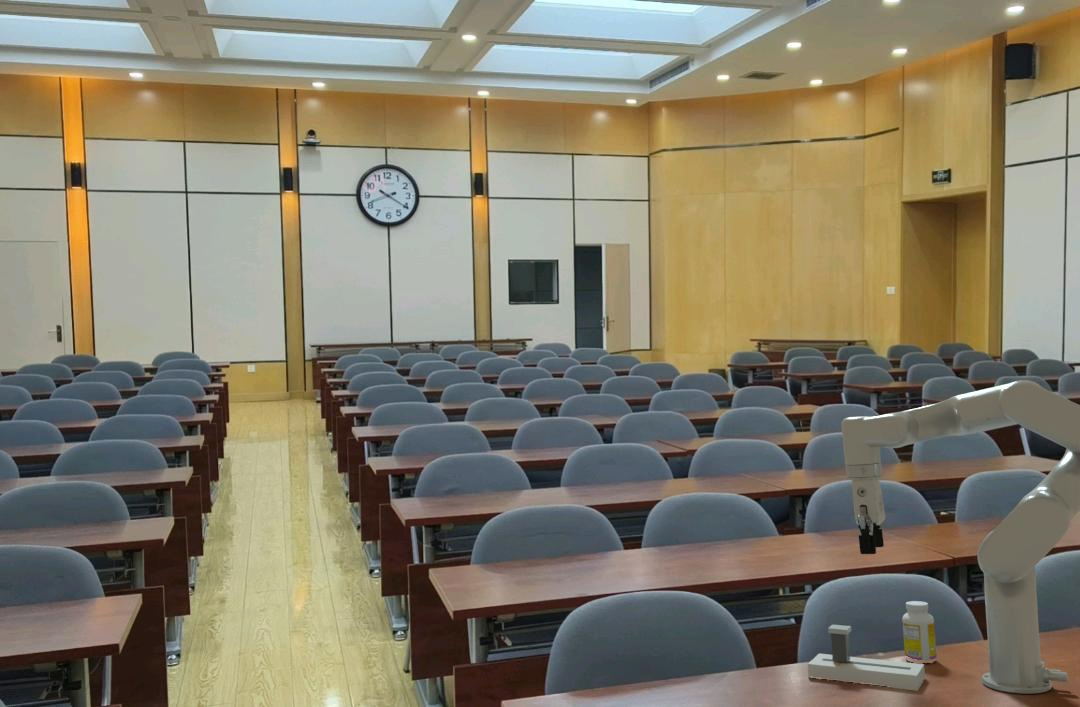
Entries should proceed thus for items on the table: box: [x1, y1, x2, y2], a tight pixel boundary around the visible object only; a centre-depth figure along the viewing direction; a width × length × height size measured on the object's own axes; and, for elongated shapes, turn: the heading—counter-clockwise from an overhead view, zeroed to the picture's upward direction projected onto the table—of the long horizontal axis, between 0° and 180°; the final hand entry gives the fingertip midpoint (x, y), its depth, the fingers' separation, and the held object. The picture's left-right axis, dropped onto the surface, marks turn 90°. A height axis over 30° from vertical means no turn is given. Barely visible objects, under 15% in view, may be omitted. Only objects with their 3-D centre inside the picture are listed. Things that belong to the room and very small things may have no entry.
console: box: [807, 653, 926, 692], centre depth 197 cm, size 22×9×3 cm, turn 59°
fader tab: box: [827, 624, 852, 663], centre depth 200 cm, size 4×4×7 cm
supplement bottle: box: [901, 600, 938, 661], centre depth 209 cm, size 7×7×13 cm
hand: (872, 550), depth 204 cm, fingers open, 9 cm apart
